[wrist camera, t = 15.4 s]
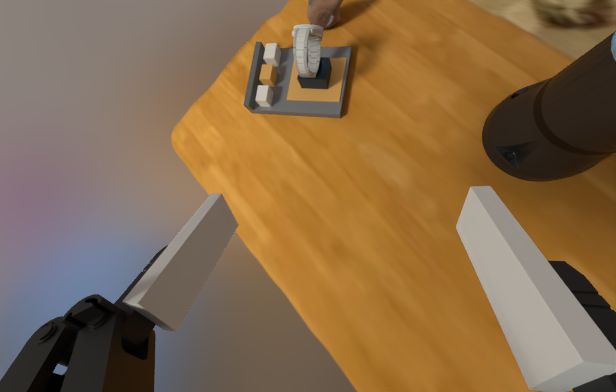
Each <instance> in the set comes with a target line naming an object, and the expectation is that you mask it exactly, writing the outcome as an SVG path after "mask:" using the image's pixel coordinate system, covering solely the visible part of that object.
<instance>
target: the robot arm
mask: <svg viewBox="0 0 616 392" xmlns="http://www.w3.org/2000/svg"><path fill="white" fill-rule="evenodd" d="M482 140H483V145H484V148H485V151H486V153H487V155H488V157H489V158H490V159H491V161H492V162H493V163H494V164H495V165H496V166H497V167H498V168H500V169H501V170H502V171H504V172H506V173H507V174H509V175H511V176H514V177H516V178H519V179H523V180H528V181H552V180H557V179H562V178H567V177H571V176H574V175H577V174H579V173H582V172H584V171H586V170H588V169H589V168H591V167H593V166H594V165H595V164H597V163H598V162H600V161H601V160H603V159H605V158H606V157H608V156H610V155H611V154H613V153H615V152H616V31H615V32H614V33H613V34H611V35H610V36H609V37H607V38H606V39H604V40H603V41H602V42H600V43H599V44H598V45H596V46H595V47H593V48H592V49H591V50H589V51H588V52H587V53H585V54H584V55H583V56H581V57H580V58H578V59H577V60H576V61H574V62H573V63H572V64H570V65H569V66H567V67H566V68H565V69H563V70H562V71H561V72H559V73H558V74H557V75H555V76H554V77H552V78H549V79H547V80H544V81H541V82H538V83H536V84H533V85H530V86H527V87H525V88H522V89H520V90H518V91H516V92H514V93H513V94H511V95H510V96H508V97H507V98H506V99H504V100H503V101H502V102H501V103H500V104H498V105H497V106H496V107H495V108H494V109H493V110H492V111H491V113H490V114H489V116H488V117H487V119H486V121H485V124H484V127H483V133H482ZM237 226H238V223H237V221H236V220H235V218H234V216H233V214H232V212H231V210H230V208H229V206H228V205H227V203H226V201H225V199H224V197H223V195H222V193H221V194H210V195H209V197H208V198H207V199H206V200H205V202H204V203H203V204H202V205H201V206H200V208H199V209H198V210H197V211H196V212H195V214H194V215H193V216H192V217H191V219H190V220H189V221H188V222H187V223H186V225H185V226H184V227H183V228H182V229H181V231H180V232H179V233H178V234H177V235H176V237H175V238H174V239H173V240H172V242H171V243H170V244H169V245H167V246H166V247H164V248H163V249H162V250H161V251H159V252H158V253H157V254H156V255H155V256H154V257H153V259H152V260H151V261H150V263H149V264H148V265H147V266H146V267H145V268H144V269H143V272H141V273H140V274H139V275H138V277H137V278H136V279H135V280H134V281H133V282H132V284H131V285H130V286H129V287H128V288H127V290H126V291H125V292H124V293H123V294H122V295H121V297H120V298H119V299H118V300H117V301H116V302H115V303H114V304H112V303H111V302H109V301H108V300H106V299H105V298H103V297H102V296H100V295H99V294H98V295H91V296H88V297H86V298H84V299H82V300H81V301H79V302H78V303H77V304H75V305H74V306H73V307H72V308H71V309H70V310H69V311H68V312H67V313H66V314H65V315H64V317H63V316H62V317H57V318H55V319H53V320H51V321H49V322H47V323H46V324H44V325H43V326H41V327H40V328H39V329H38V330H37V331H36V332H35V333H34V334H33V335H32V336H31V338H30V339H29V340H28V341H27V343H26V344H25V346H24V347H23V349H22V350H21V352H20V353H19V355H18V356H17V358H16V359H15V360H14V362H13V363H12V365H11V366H10V368H9V369H8V371H7V372H6V374H5V375H4V376H3V378H2V379H1V381H0V392H154V370H155V332H154V330H153V328H154V326H155V325H157V326H159V327H160V328H162V329H163V330H169V331H175V332H177V331H178V330H179V328H180V326H181V324H182V322H183V321H184V319H185V317H186V315H187V314H188V312H189V310H190V309H191V307H192V305H193V303H194V302H195V300H196V298H197V296H198V294H199V293H200V291H201V289H202V287H203V286H204V284H205V282H206V280H207V279H208V277H209V275H210V273H211V272H212V270H213V268H214V266H215V265H216V263H217V261H218V260H219V258H220V256H221V254H222V253H223V251H224V249H225V247H226V246H227V244H228V242H229V240H230V239H231V237H232V235H233V233H234V232H235V230H236V228H237ZM456 229H457V231H458V233H459V236H460V238H461V240H462V242H463V244H464V247H465V249H466V251H467V253H468V256H469V258H470V260H471V262H472V264H473V267H474V269H475V271H476V273H477V275H478V278H479V280H480V282H481V284H482V286H483V289H484V291H485V293H486V295H487V297H488V300H489V302H490V304H491V306H492V308H493V311H494V313H495V315H496V317H497V319H498V322H499V324H500V326H501V328H502V330H503V333H504V335H505V337H506V339H507V341H508V344H509V346H510V348H511V350H512V352H513V355H514V357H515V359H516V361H517V363H518V366H519V368H520V370H521V372H522V374H523V377H524V379H525V381H526V383H527V385H528V388H529V389H532V390H538V391H544V392H567V391H570V390H573V391H574V392H616V312H615V311H614V310H611V308H610V307H611V306H610V305H609V304H608V303H607V302H606V301H605V299H604V298H603V297H602V296H600V295H599V294H598V291H597V290H596V289H595V288H594V287H593V285H592V284H591V283H590V282H589V281H588V280H587V278H586V277H585V276H584V275H583V274H581V273H580V272H578V271H577V270H576V269H574V268H573V267H571V266H570V265H569V264H567V263H566V262H565V261H547V260H546V258H545V257H544V256H543V254H542V253H541V252H540V251H539V249H538V248H537V247H536V245H535V244H534V243H533V241H532V240H531V239H530V237H529V236H528V235H527V233H526V232H525V231H524V230H523V228H522V227H521V226H520V224H519V223H518V222H517V220H516V219H515V218H514V216H513V215H512V214H511V213H510V211H509V210H508V209H507V207H506V206H505V205H504V203H503V202H502V201H501V199H500V198H499V197H498V196H497V194H496V193H495V192H494V190H493V189H492V188H491V186H471V187H470V189H469V192H468V195H467V198H466V200H465V203H464V206H463V209H462V212H461V214H460V217H459V220H458V223H457V226H456ZM57 364H60V365H63V366H66V367H68V368H67V371H66V372H65V373H64V374H63V375H59V374H55V373H53V371H54V369H55V367H56V365H57Z"/></svg>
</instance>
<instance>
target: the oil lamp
mask: <svg viewBox="0 0 616 392" xmlns="http://www.w3.org/2000/svg"><path fill="white" fill-rule="evenodd" d="M342 1H343V0H309V5H308V12H307V15H308V19H309V22H310V23H311V24H313V25H318V26H321V27H323V28H324V29H326V28H329V27H331V26H333V25H335V24H337V23H338V22H339V21H340V5H341V3H342Z"/></svg>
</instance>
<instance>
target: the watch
mask: <svg viewBox="0 0 616 392" xmlns="http://www.w3.org/2000/svg"><path fill="white" fill-rule="evenodd" d="M323 31H324V28H323V27H321V26H318V25H313V24H300V25H296V26H294V31H292V36H293V37H294V41H293V54H294V61H295V66H296V70H297V72H298V73H297V74H298V77H297V79H298V82H299V84H300V86H301V88H308V89H328V87H329V81H330V76H331V71H332V66H331V62H330V57H320V53H321V50H320V49H321V44H320V41H322V37H323ZM307 46H308V55H309V56H308V57H307Z"/></svg>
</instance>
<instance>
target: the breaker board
mask: <svg viewBox="0 0 616 392" xmlns="http://www.w3.org/2000/svg"><path fill="white" fill-rule="evenodd" d="M320 50H321V53H320V57H330V62H331V66H332V71H331V76H330V81H329V87H328V89H308V88H301V86H300V84H299V82H298V79H297V77H298V74H297V73H298V72H297V70H296V66H295V61H294V54H293V48H279V47H278V45H277V43H271V44H266V47H265V48H264V46H263V44H262V42H256V45H255V50H254V55H253V60H252V65H251V70H250V75H249V80H248V86H247V91H246V96H245V101H244V106H245V107H246V108H247V109H248V110H249V111H250V112H251V113H259V114H276V115H294V116H311V117H329V118H341V113H342V107H343V101H344V95H345V89H346V83H347V77H348V71H349V65H350V59H351V53H352V50H351V46H347V47H321V49H320ZM308 56H309V55H308V48H307V57H308Z"/></svg>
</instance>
